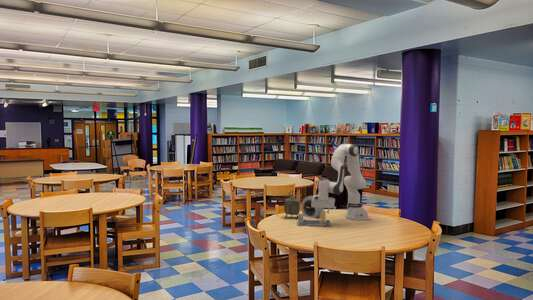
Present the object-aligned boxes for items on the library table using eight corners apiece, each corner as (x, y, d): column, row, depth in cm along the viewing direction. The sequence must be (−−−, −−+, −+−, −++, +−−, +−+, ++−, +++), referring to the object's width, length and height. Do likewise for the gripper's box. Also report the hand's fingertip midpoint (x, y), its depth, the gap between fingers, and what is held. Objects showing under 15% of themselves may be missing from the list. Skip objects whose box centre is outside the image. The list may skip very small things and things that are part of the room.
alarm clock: (300, 214, 373) (301, 194, 372) (306, 213, 378) (306, 193, 377) (318, 218, 358) (318, 197, 357) (323, 217, 363) (323, 196, 362)
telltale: (322, 223, 332) (322, 220, 332) (322, 224, 330) (322, 221, 330) (320, 223, 333) (320, 220, 332) (320, 224, 331) (320, 221, 330)
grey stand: (325, 221, 341) (326, 210, 340) (326, 224, 330) (327, 213, 329) (305, 221, 342) (305, 209, 342) (305, 224, 331) (305, 212, 331)
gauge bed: (329, 222, 345) (330, 214, 345) (331, 227, 329) (331, 218, 329) (298, 221, 347) (298, 213, 347) (298, 225, 331) (298, 217, 331)
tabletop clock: (299, 217, 363) (300, 190, 362) (299, 219, 354) (300, 192, 353) (284, 216, 365) (284, 190, 363) (283, 218, 356) (284, 191, 354)
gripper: (334, 196, 338) (334, 212, 339) (311, 195, 340) (310, 211, 341) (335, 198, 332) (334, 214, 333) (311, 197, 334) (311, 213, 334)
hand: (322, 212), depth 337 cm, fingers open, 8 cm apart
